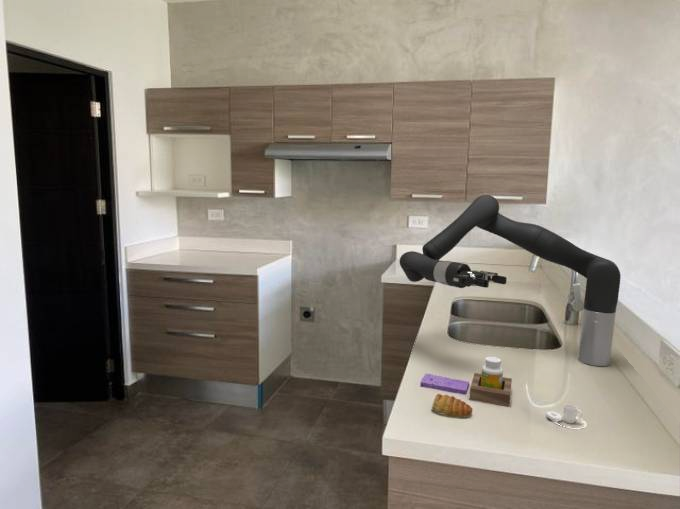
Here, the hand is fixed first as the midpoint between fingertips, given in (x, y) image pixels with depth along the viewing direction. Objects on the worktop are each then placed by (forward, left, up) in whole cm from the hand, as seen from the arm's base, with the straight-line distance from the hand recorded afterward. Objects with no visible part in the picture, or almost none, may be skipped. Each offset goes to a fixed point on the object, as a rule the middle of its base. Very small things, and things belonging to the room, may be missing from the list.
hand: (497, 282), depth 146 cm
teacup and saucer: (+19, +18, -29) cm, 39 cm away
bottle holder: (+13, +1, -28) cm, 31 cm away
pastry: (+28, -8, -29) cm, 41 cm away
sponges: (+13, -11, -29) cm, 33 cm away
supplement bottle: (+13, +1, -28) cm, 31 cm away
